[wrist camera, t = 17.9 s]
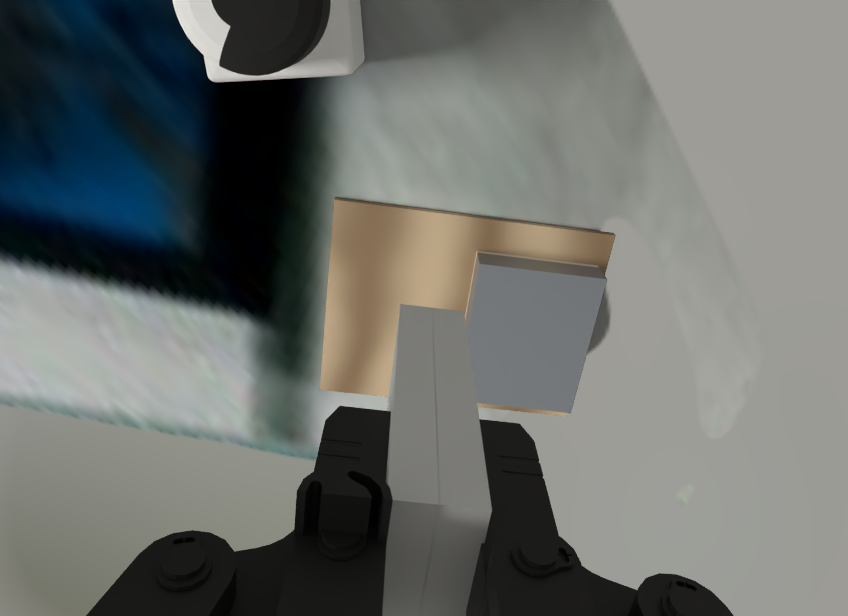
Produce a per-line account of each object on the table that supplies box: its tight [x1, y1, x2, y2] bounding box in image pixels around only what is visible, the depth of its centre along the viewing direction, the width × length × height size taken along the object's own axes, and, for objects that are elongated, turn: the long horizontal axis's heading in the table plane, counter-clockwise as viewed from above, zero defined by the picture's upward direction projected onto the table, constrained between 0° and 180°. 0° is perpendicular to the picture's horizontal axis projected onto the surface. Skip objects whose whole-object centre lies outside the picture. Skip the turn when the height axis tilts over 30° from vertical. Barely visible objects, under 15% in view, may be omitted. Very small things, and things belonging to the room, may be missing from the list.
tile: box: [465, 250, 607, 413], centre depth 43 cm, size 2×10×8 cm
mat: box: [320, 198, 615, 416], centre depth 44 cm, size 18×14×1 cm
